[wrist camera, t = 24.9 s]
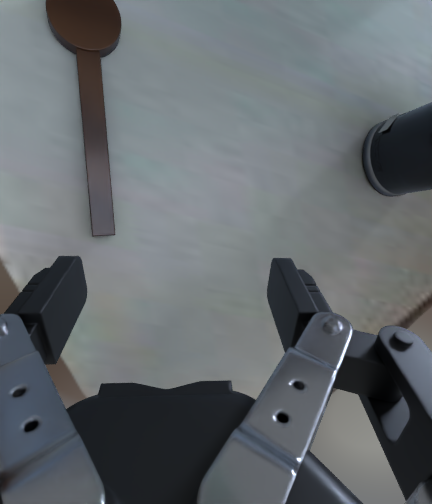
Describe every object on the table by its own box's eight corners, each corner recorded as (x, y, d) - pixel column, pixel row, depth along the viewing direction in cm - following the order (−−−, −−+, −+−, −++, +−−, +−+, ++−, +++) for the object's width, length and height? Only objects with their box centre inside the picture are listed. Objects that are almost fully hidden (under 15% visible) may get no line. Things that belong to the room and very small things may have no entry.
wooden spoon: (136, 233, 28) (138, 233, 27) (68, 237, 26) (67, 237, 25) (117, -4, 27) (118, -14, 26) (44, -19, 25) (42, -32, 24)
